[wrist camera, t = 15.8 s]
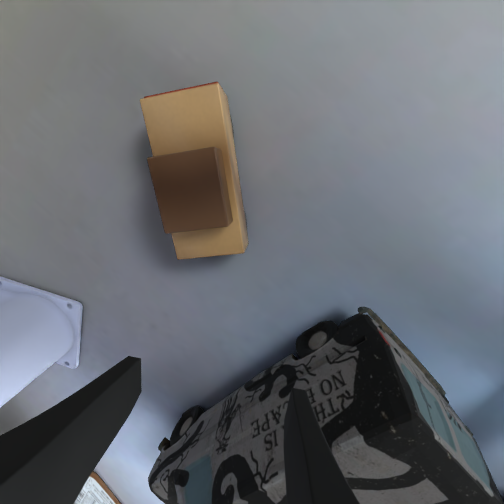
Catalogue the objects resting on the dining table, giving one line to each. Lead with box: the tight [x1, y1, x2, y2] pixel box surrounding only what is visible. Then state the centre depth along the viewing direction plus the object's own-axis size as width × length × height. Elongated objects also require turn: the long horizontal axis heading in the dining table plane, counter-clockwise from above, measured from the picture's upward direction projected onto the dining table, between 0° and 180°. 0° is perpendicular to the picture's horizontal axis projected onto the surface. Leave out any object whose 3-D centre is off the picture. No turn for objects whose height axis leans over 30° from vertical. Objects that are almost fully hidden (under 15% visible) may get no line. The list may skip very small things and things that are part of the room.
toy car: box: [148, 307, 504, 504], centre depth 19 cm, size 11×25×10 cm, turn 134°
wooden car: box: [140, 82, 248, 260], centre depth 16 cm, size 10×5×5 cm, turn 8°
